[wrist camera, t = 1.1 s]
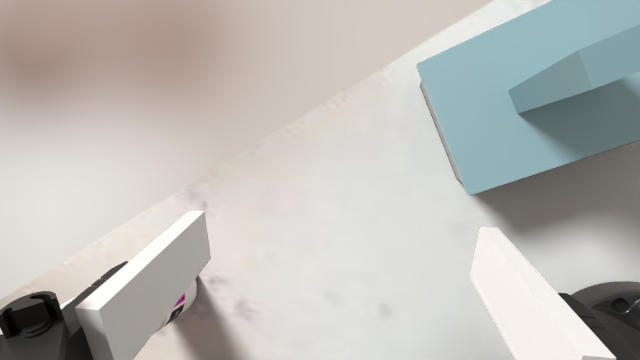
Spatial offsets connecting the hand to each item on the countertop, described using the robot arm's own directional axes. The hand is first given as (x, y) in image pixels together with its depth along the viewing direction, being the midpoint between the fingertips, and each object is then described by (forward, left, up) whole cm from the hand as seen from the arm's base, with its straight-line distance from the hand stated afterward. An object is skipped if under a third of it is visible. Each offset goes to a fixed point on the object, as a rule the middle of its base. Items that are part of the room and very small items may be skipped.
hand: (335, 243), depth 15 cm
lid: (-9, -14, -15) cm, 22 cm away
